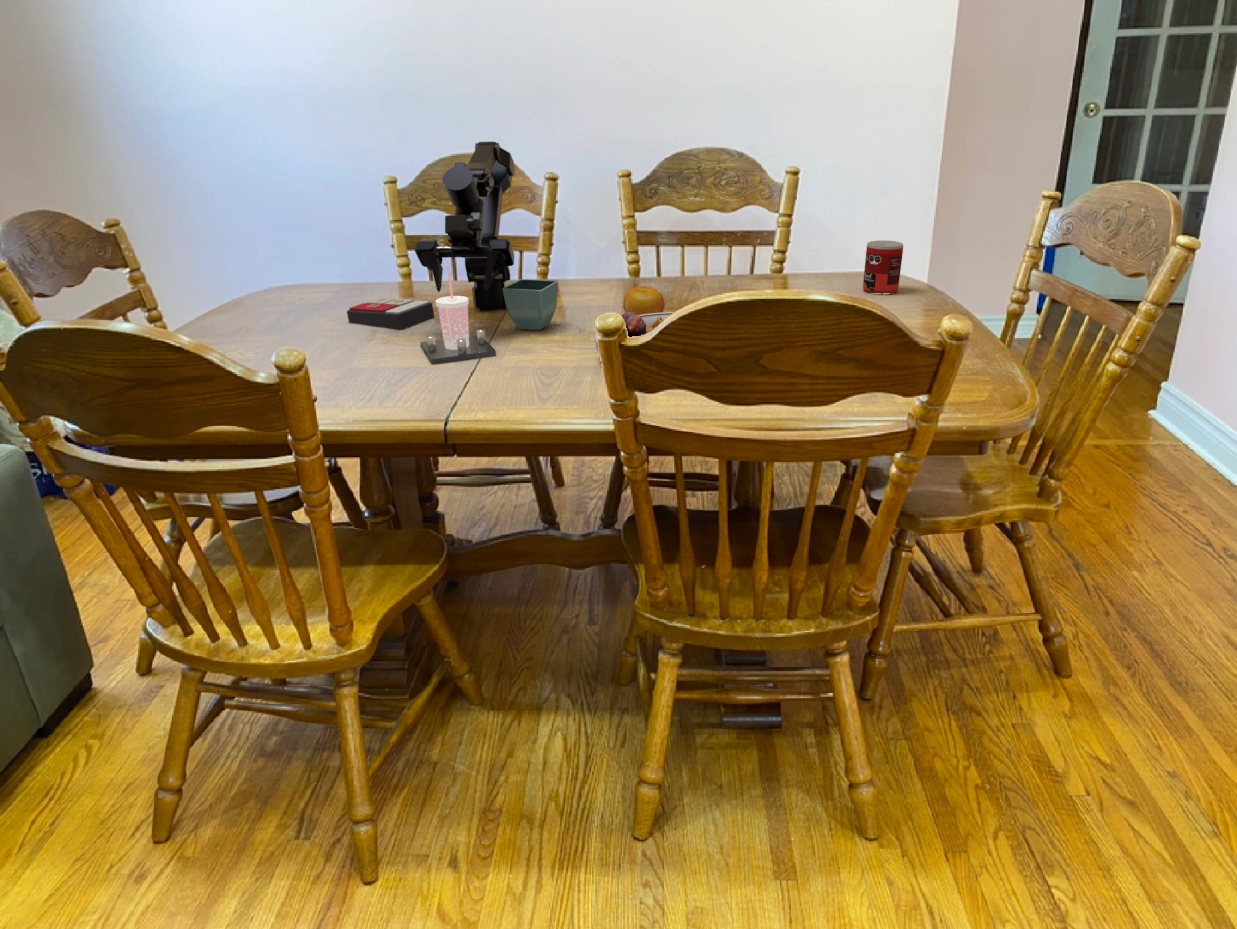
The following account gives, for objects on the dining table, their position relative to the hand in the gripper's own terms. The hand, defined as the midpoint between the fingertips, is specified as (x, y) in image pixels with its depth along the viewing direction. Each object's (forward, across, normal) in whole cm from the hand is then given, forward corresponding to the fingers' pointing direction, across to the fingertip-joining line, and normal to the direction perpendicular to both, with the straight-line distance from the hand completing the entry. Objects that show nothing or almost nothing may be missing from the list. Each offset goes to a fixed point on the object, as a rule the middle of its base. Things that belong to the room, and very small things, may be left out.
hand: (461, 290), depth 164 cm
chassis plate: (+13, 0, +1) cm, 13 cm away
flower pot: (+1, +12, +13) cm, 18 cm away
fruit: (-3, +35, +17) cm, 39 cm away
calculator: (-3, -20, +18) cm, 27 cm away
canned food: (-19, +89, +34) cm, 97 cm away
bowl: (+16, +42, -2) cm, 45 cm away
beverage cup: (+12, 0, +1) cm, 12 cm away
